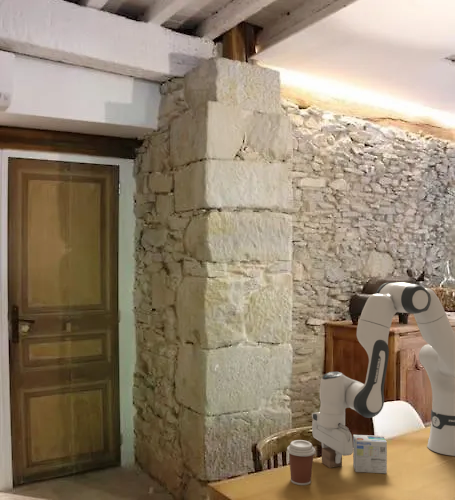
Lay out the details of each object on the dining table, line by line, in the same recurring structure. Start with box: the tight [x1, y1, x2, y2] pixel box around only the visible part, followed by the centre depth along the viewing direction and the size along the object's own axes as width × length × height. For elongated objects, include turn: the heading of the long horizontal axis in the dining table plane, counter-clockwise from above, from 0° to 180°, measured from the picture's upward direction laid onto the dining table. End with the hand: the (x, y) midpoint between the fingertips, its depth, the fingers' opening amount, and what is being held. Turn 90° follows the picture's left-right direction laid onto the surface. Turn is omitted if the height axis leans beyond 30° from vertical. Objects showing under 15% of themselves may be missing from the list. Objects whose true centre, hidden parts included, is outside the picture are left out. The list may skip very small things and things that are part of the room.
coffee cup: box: [286, 439, 316, 486], centre depth 170 cm, size 9×9×12 cm
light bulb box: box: [352, 434, 388, 474], centre depth 181 cm, size 11×7×11 cm, turn 84°
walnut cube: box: [321, 447, 343, 469], centre depth 184 cm, size 5×5×5 cm
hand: (331, 459), depth 184 cm, fingers closed on walnut cube, 5 cm apart
